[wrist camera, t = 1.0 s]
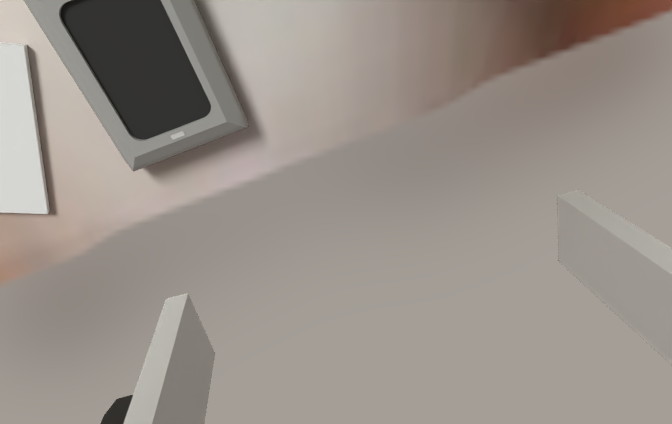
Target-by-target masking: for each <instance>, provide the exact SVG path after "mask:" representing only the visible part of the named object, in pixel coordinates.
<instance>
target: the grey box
mask: <svg viewBox="0 0 672 424" xmlns="http://www.w3.org/2000/svg"><path fill="white" fill-rule="evenodd" d="M24 2H25V3H26V5H27V6H28V8H29V9H30V11H31V13H32V14H33V16H34V17H35V19H36V21H37V22H38V24H39V25H40V27H41V28H42V30H43V32H44V33H45V35H46V36H47V38H48V40H49V41H50V43H51V44H52V46H53V47H54V49H55V51H56V52H57V54H58V55H59V57H60V59H61V60H62V62H63V63H64V65H65V66H66V68H67V70H68V71H69V73H70V74H71V76H72V78H73V79H74V81H75V82H76V84H77V86H78V87H79V89H80V90H81V92H82V93H83V95H84V97H85V98H86V100H87V101H88V103H89V105H90V106H91V108H92V109H93V111H94V112H95V114H96V116H97V117H98V119H99V120H100V122H101V124H102V125H103V127H104V128H105V130H106V131H107V133H108V135H109V136H110V138H111V139H112V141H113V143H114V144H115V146H116V147H117V149H118V150H119V152H120V154H121V155H122V157H123V158H124V160H125V161H126V163H127V164H128V165H129V167H130V168H131V169H132V170H133V171H136V170H138V169H141V168H144V167H146V166H149V165H151V164H154V163H157V162H159V161H162V160H164V159H167V158H169V157H172V156H175V155H177V154H180V153H182V152H185V151H188V150H190V149H193V148H195V147H198V146H200V145H203V144H206V143H208V142H211V141H213V140H216V139H218V138H221V137H224V136H226V135H229V134H231V133H234V132H237V131H239V130H242V129H244V128H247V127H249V126H248V120H247V118H246V116H245V113H244V111H243V109H242V107H241V104H240V102H239V100H238V98H237V95H236V93H235V91H234V89H233V86H232V84H231V82H230V80H229V77H228V75H227V73H226V70H225V68H224V66H223V64H222V61H221V59H220V57H219V55H218V52H217V50H216V48H215V46H214V43H213V41H212V39H211V37H210V34H209V32H208V30H207V28H206V25H205V23H204V21H203V19H202V16H201V14H200V12H199V10H198V7H197V5H196V3H195V1H194V0H24Z"/></svg>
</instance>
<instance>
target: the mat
mask: <svg viewBox="0 0 672 424" xmlns="http://www.w3.org/2000/svg"><path fill="white" fill-rule="evenodd" d="M49 211H50V208H49V201H48V193H47V186H46V179H45V172H44V165H43V157H42V150H41V143H40V136H39V129H38V121H37V114H36V107H35V100H34V93H33V85H32V78H31V71H30V64H29V57H28V49H27V45H26V44H18V43H9V42H0V212H2V213H33V214H48V213H49Z"/></svg>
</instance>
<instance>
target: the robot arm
mask: <svg viewBox="0 0 672 424" xmlns="http://www.w3.org/2000/svg"><path fill="white" fill-rule="evenodd" d="M557 211H558V212H557V214H558V261H559V262H560V263H561V264H562V265H563V266H564V267H566V269H568V270H569V271H570V272H571V273H572V274H573V275H574V276H575V277H576V278H577V279H578V280H580V281H581V282H582V283H583V284H584V285H585V286H586V287H587V288H588V289H589V290H590V291H591V292H592V293H594V294H595V295H596V296H597V297H598V298H599V299H600V300H601V301H602V302H603V303H604V304H606V305H607V306H608V307H609V308H610V309H611V310H612V311H613V312H614V313H615V314H616V315H618V316H619V317H620V318H621V319H622V320H623V321H624V322H625V323H626V324H627V325H628V326H629V327H631V328H632V329H633V330H634V331H635V332H636V333H637V334H638V335H639V336H640V337H642V338H643V339H644V340H645V341H646V342H647V343H648V344H649V345H650V346H651V347H653V349H655V350H656V351H657V352H658V353H659V354H660V355H661V356H662V357H663V358H664V359H665V360H667V361H668V362H669V363H670V364H671V365H672V248H671V247H669V246H667V245H666V244H664V243H663V242H661V241H660V240H658V239H656V238H654V237H653V236H651V235H650V234H648V233H647V232H645V231H644V230H642V229H640V228H639V227H637V226H636V225H634V224H632V223H631V222H629V221H627V220H626V219H624V218H623V217H621V216H620V215H618V214H617V213H615V212H613V211H612V210H610V209H608V208H607V207H605V206H604V205H602V204H601V203H599V202H597V201H596V200H594V199H592V198H591V197H589V196H588V195H586V194H585V193H583V192H581V191H580V190H575V191H571V192H567V193H564V194H560V195H557ZM214 356H215V352H214V350H213V348H212V345H211V343H210V341H209V339H208V336H207V334H206V332H205V330H204V328H203V325H202V323H201V321H200V319H199V316H198V314H197V312H196V310H195V308H194V305H193V303H192V301H191V299H190V296H189V294H188V293H187V294H183V295H179V296H175V297H171V298H167V299H166V301H165V303H164V306H163V309H162V312H161V315H160V318H159V321H158V324H157V327H156V330H155V333H154V336H153V339H152V342H151V345H150V348H149V350H148V353H147V356H146V359H145V362H144V365H143V368H142V371H141V374H140V377H139V380H138V383H137V385H136V389H135V392H134V394H133V395H130V396H126V397H123V398H119V399H117V400H116V401H115V402H114V403H113V405H112V406H111V407H110V408H109V410H108V411H107V412H106V414H105V415H104V417H103V419H102V422H101V424H204V422H205V415H206V408H207V402H208V395H209V389H210V382H211V376H212V369H213V363H214Z"/></svg>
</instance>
